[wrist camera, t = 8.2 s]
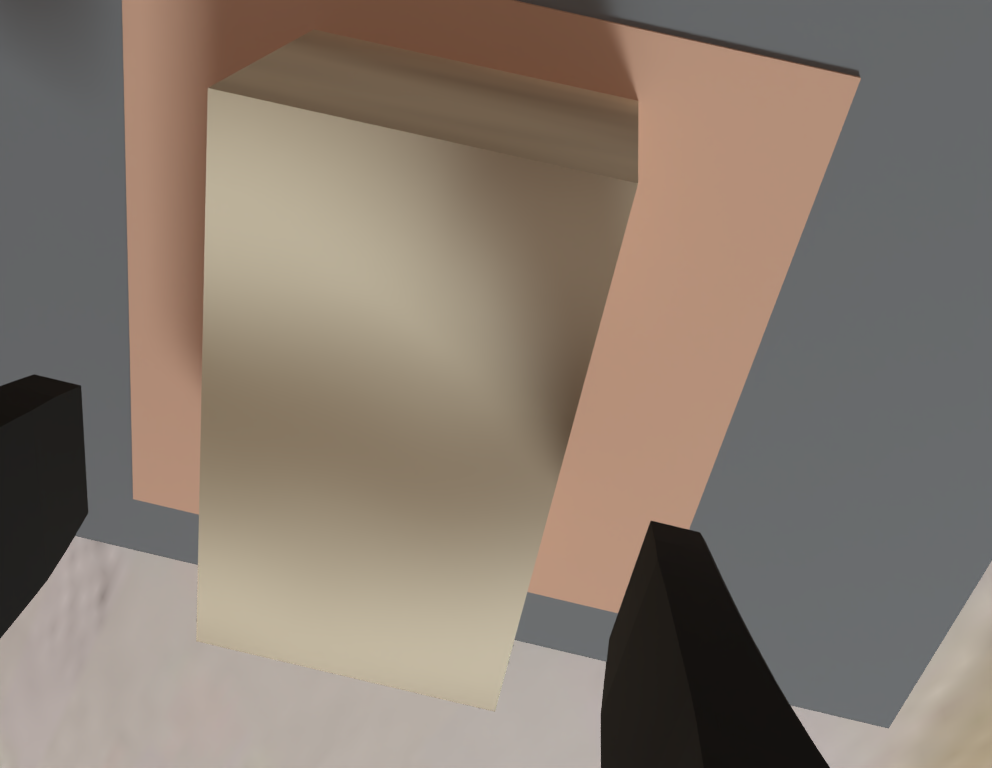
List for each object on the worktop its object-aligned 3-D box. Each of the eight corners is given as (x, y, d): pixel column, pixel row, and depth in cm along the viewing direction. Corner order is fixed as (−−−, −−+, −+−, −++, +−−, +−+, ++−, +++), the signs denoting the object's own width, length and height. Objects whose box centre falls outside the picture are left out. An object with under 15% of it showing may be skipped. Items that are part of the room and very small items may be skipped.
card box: (522, 551, 18) (494, 711, 15) (278, 494, 19) (196, 641, 15) (637, 100, 14) (638, 183, 10) (314, 29, 14) (207, 87, 11)
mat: (1788, -810, 9) (1870, -856, 8) (882, 706, 20) (889, 732, 20) (-205, -1202, 9) (-263, -1274, 9) (-4, 496, 21) (-23, 516, 20)
